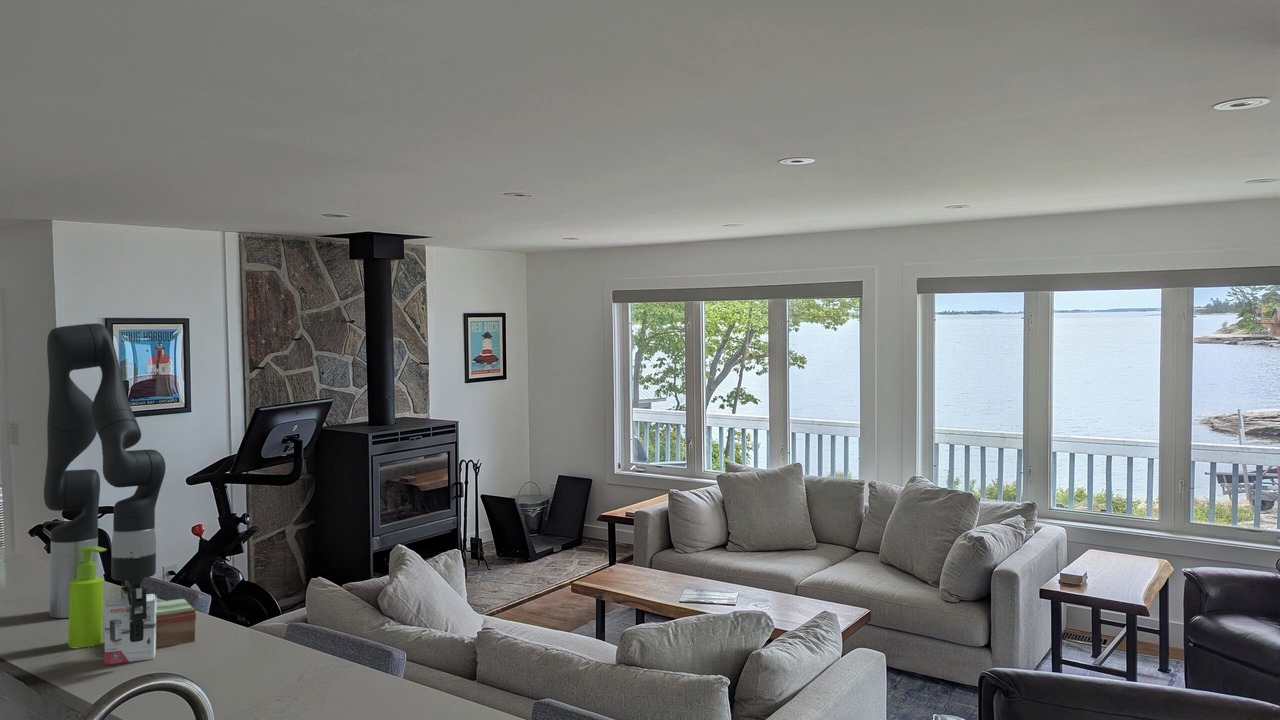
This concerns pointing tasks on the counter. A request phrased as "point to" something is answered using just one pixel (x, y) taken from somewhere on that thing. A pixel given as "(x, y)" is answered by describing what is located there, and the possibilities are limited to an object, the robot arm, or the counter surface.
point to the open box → (174, 623)
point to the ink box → (128, 632)
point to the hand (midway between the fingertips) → (133, 636)
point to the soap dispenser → (86, 602)
